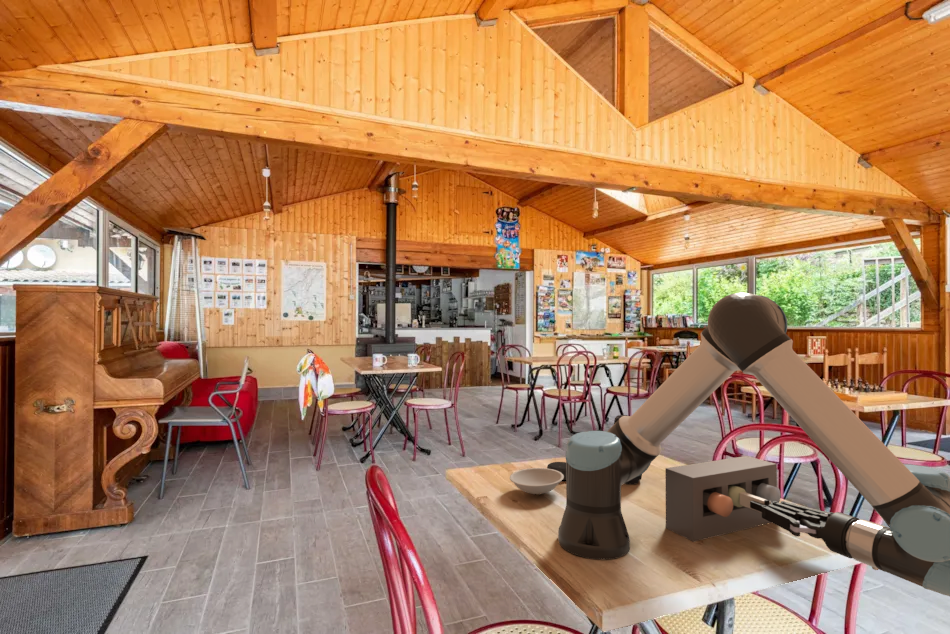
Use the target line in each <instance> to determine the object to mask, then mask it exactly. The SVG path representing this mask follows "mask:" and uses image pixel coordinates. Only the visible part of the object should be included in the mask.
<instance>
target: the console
mask: <svg viewBox="0 0 950 634" xmlns="http://www.w3.org/2000/svg"><path fill="white" fill-rule="evenodd" d="M777 468H778V467H777V463H774V462H771V461H768V460H764V459H761V458H756V457H753V456H749V455H744V456H738V457H737V456H736V457H730V458H724V459H718V460H717V459H716V460H712V461H704V462H697V463H692V464H686V465H685V464H683V465H679V466H678V465H677V466H671V467H665V529H667V530H669V531H671V532H673V533H675V534H678V536H681V537H684V538H685V539H687V540H689V541H692V542H698V541H702V540H705V539H710V538H714V537H718V536H722V535H727V534H730V533H731V534H732V533H735V532H739V531H745V530H747V529H751V527H752V528H756V527H759V526H758V525H760V526H763V525H762V524H765V525H768V524H767V523H769V524H772V523H771V522H769V521H767V520H765V519H764V518H762V513H761V512H758V511H756V510H753V509H750V508H747V507H745V506H742V507H737V506H734V505H733V510H732V512H731V514H730V515H729V516H727V517H723V516H721V515H719V514H716V513H714V512H711V511H710V510H709V508H708V506H707V505H705V504H703V493H708V494H712V493H714V492H715V488H716V492H717V493H720V494H722V495H725V496H728V485H734V486H737V487H740V488H743V489H745V491H746V493H748V494H751V495H752V484H755V485H758V486H759V485H760V484H761V483H765V484H768V485H771V486H774V487H777V486H778V481H777V479H778V477H777V475H778V474H777V473H778V469H777ZM777 488H778V487H777ZM755 526H756V527H755Z"/></svg>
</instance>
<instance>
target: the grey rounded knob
mask: <svg viewBox="0 0 950 634" xmlns="http://www.w3.org/2000/svg"><path fill="white" fill-rule="evenodd" d="M752 495H754V496H757V497H760V498H763V499H766V500H769V501H771V502H773V501H776V502H779V503H780V502H781V490H780V488H778V487H774V486H771V485H768V484H765V483H761V484H760V485H759V486H758V485H755V484H752Z"/></svg>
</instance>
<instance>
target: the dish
mask: <svg viewBox="0 0 950 634" xmlns="http://www.w3.org/2000/svg"><path fill="white" fill-rule="evenodd" d="M563 479H564V475H563V474H562V473H561V472H559V471H557V470H553V469H548V468H547V467H546V468H545V467H531V468H530V467H528V468H523V469H519V470H516V471H514V472H513V473H511V474H510V475H509V480H510V482H512V483H513V484H514V485H515V486H516V487H517V488H518V490H521V491H522V492H524V493H525V494H527V493H528V494H531V495H535V494H539V495H541V494H547V493H550V492H551V491H553V490H554V489H555V488H556V487H557V486H559V484H560V483H561V482H563V481H562V480H563Z"/></svg>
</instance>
